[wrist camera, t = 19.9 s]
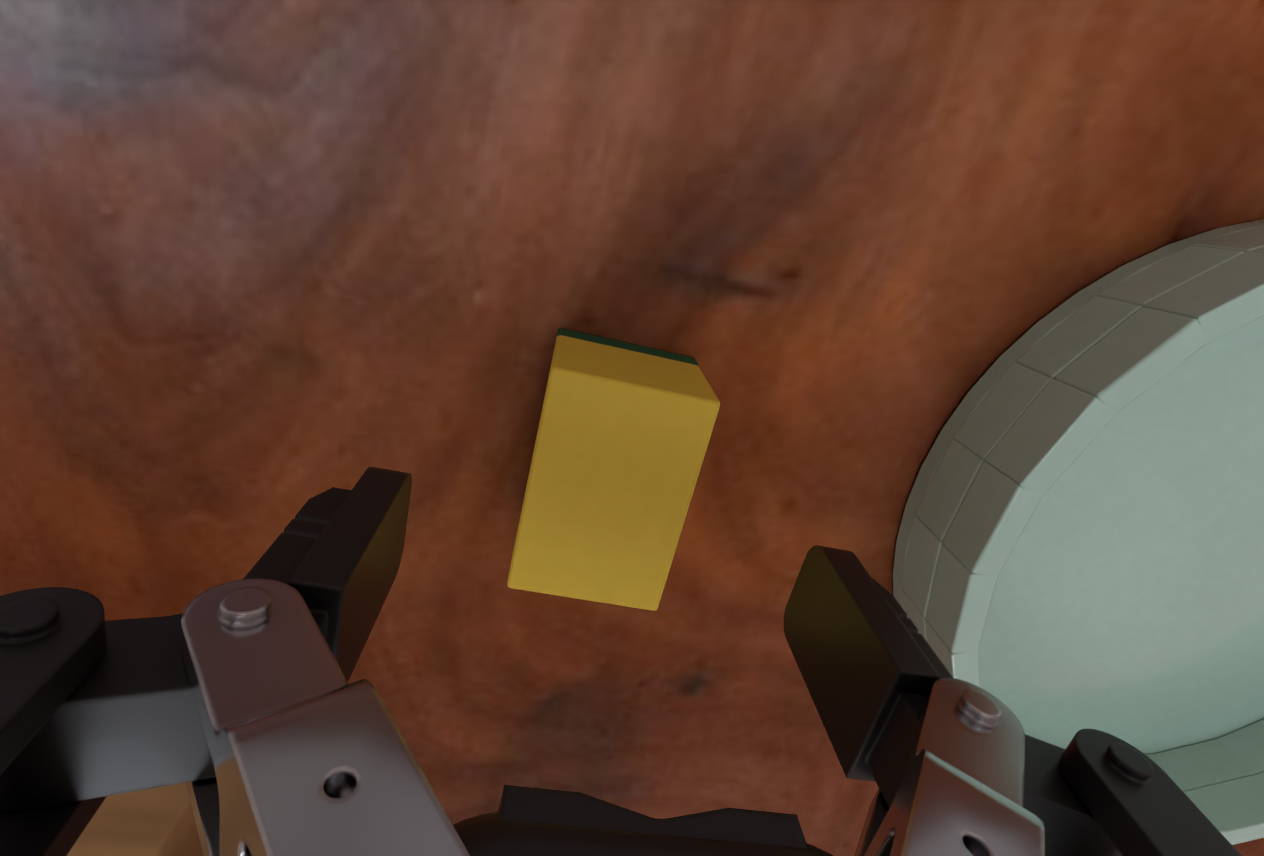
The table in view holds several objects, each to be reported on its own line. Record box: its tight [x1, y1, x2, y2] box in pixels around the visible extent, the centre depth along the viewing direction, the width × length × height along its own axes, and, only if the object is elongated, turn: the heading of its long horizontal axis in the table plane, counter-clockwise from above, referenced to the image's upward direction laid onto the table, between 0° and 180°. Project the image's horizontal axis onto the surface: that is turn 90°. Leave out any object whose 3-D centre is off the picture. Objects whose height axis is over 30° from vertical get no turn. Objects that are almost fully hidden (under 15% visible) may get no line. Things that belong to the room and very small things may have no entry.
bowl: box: [893, 219, 1264, 845], centre depth 20 cm, size 21×21×4 cm
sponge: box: [507, 328, 720, 611], centre depth 17 cm, size 6×4×4 cm, turn 166°
